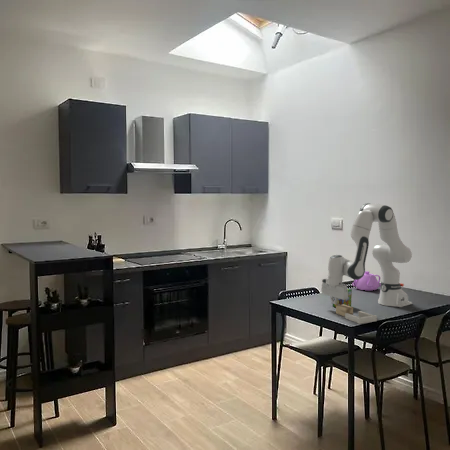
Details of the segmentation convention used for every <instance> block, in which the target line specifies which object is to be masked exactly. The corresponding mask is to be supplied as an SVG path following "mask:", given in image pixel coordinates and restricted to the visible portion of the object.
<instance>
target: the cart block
mask: <svg viewBox="0 0 450 450" xmlns="http://www.w3.org/2000/svg"><path fill="white" fill-rule="evenodd" d="M345 313H349V314H352V315H354V307H353V306H351V307H350V306H347V305H336V307H335V314H337V315H340V316H343V317H345Z"/></svg>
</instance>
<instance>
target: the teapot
mask: <svg viewBox="0 0 450 450" xmlns="http://www.w3.org/2000/svg"><path fill="white" fill-rule="evenodd" d="M377 277H378V278H377ZM351 285H352V286H353V287H355V288H356V289H357V290H361V291H363V290H365V291H369V292H370V291H371V292H372V291H373V290H374V291H376V290H377V289H379V288H381V276H380V275H378V274H373V273H370V271H366V270H365V274H364V276H363V277H362V278H361V279H358V280H354V279H353V282H352V283H351ZM374 291H373V292H374Z"/></svg>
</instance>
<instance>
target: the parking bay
mask: <svg viewBox="0 0 450 450" xmlns="http://www.w3.org/2000/svg"><path fill="white" fill-rule="evenodd" d="M357 315H358V316H357ZM357 315H354V314H353V315H352V314H349V313H345V316H344V319H346V320H347V321H348V320H349V321H352V322H354V323H357V324H359V325H360V324H367V323H372V322H377V321H378V315H376V314H375V315H374V314H371V313H367V312H365V311H361V310H358V314H357Z"/></svg>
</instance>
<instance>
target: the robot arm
mask: <svg viewBox="0 0 450 450" xmlns="http://www.w3.org/2000/svg"><path fill="white" fill-rule="evenodd" d="M374 222H375V223H376V222H378V223H377V224H378V231H379V232H378V233H379V237H380V240H381V241H383V244H376V245H374V247H373V248H372V249H371V250H372V251H371V254H372V257H373V258H374V259H375V260H376V262H378V264H379V267H380V270H381V281H380V283H381V286H380V289H379V295H378V296H379V298H378V299H377V303H378V304H379V305H382V306H387V307H396V308H398V307H399V308H403V307H407V306H410V305H413V302H412V301H409V295H408V293H406V292H405V291H404V290H403V289H402V287H404V286H405V284H404V283H402V282H401V283H400V275H401V273H400V270H399V269H398V268H396V267H395V266H394V263H397V264H399V263H400V264H404V263H409V262H410V261H411V259H412V255H413V253H412V252H413V251H412V250H411V249H410V248H409V247H407V245H405V244H404V242H403V241H402V240H401V237H400V235H399V232H398V225H397V219H396V216H395V214H394V211H393V209H392V207H390V206H388V205H384V204H380V203H369V202H368V203H364V204H363V205H362V206H360V209H359V212H358V213H357V214H356V217H355V219H354V221H353V224H352V226H351V230H350V237H351V239H352V240H353V242H355V244H356V252H355V256H354V260H353V261H352V260H349V259H348V258H345V257H343V255H340V254H336V255H332V256H330V257H329V260H328V266H327V267H328V268H327V269H328V270H327V271H328V275H327V277H326V278H322V279H321V283H322V284H321V291H320V292H321V294H323V295H325V296H329V297H330V298H329V299H330V300H331V304H332V305H333V304H335V305H336V304H337V301H338V299H342V300H346V299H348V289H349V288H348V286H347V285H346V284H345V283H343V280H344V279H343V278H344V277H343V276H345V277H347V278H350V279H352V280H353V281H354V280H355V281H356V280H358V279H361V278H362V277H363V276H364V274H365V271H366V260H367V256H368V255H367V254H368V250H369V246H370V243H369V242H370V241H369V240H370V239H369V237H370V234H371V230H372V226H373V223H374ZM384 243H385V244H384ZM342 283H343V284H342ZM334 299H335V300H334Z"/></svg>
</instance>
